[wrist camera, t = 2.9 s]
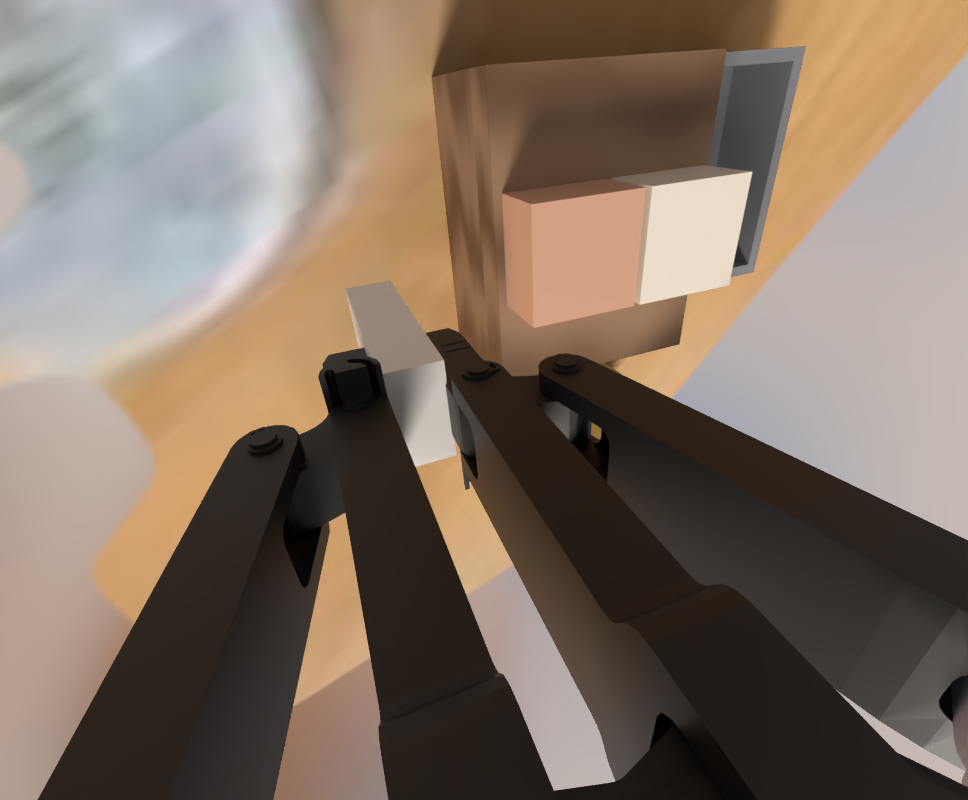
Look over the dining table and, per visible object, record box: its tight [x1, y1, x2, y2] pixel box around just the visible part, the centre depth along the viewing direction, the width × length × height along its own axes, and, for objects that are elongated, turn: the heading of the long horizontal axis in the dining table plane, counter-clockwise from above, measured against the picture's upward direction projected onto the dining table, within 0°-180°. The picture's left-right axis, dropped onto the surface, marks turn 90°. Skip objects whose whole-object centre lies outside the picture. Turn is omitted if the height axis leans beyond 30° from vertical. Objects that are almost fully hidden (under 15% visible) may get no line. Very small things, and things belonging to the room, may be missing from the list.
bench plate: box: [432, 48, 727, 376], centre depth 26 cm, size 14×11×8 cm
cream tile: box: [611, 165, 752, 305], centre depth 22 cm, size 5×5×3 cm
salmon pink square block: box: [502, 179, 646, 328], centre depth 21 cm, size 5×5×3 cm
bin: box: [708, 46, 806, 277], centre depth 29 cm, size 12×12×5 cm
